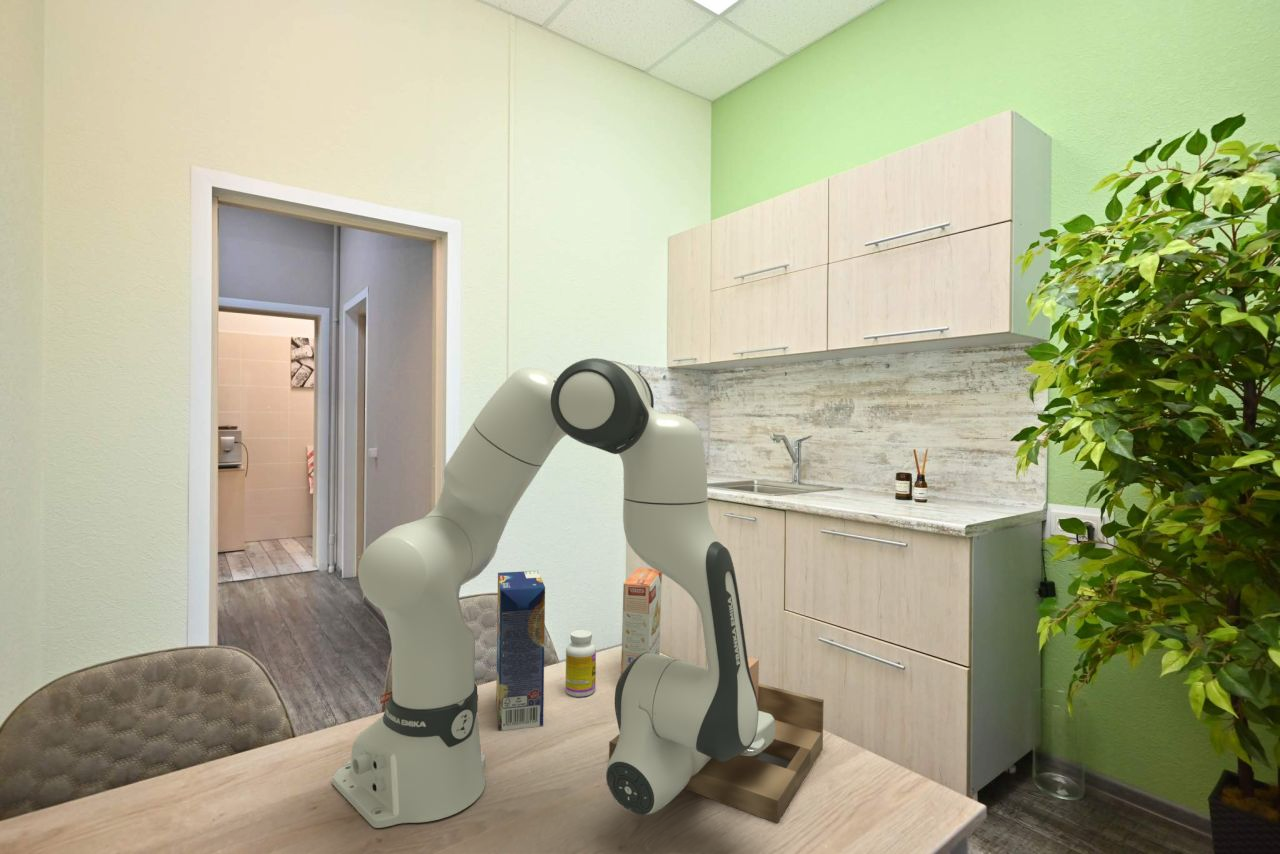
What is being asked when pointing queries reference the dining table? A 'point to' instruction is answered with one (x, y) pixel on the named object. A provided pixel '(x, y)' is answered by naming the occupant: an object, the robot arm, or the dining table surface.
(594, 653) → the supplement bottle
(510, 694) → the juice carton
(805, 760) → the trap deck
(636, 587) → the cracker box
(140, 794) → the dining table surface
